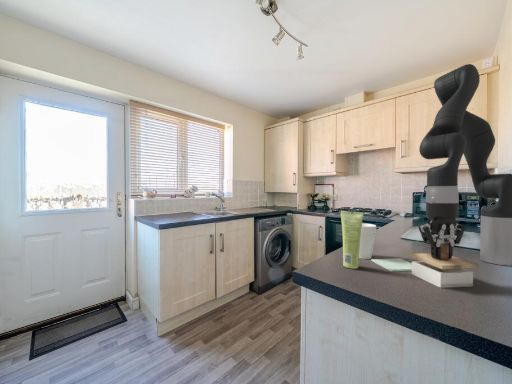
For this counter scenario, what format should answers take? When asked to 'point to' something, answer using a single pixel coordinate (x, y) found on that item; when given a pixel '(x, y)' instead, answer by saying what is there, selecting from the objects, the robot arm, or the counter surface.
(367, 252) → the foam cup
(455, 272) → the dish
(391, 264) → the mat
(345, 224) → the tube
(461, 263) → the lid
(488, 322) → the counter surface
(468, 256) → the counter surface
